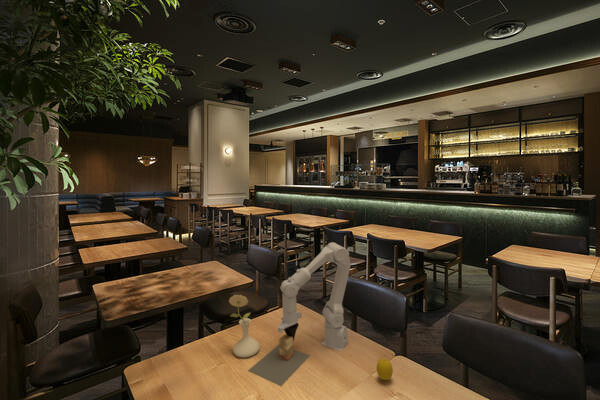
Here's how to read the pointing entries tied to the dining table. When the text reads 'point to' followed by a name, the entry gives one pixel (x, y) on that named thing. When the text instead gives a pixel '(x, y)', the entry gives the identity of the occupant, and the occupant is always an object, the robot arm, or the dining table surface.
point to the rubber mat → (278, 366)
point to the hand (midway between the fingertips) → (290, 340)
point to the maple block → (286, 347)
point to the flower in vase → (246, 344)
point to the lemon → (384, 369)
